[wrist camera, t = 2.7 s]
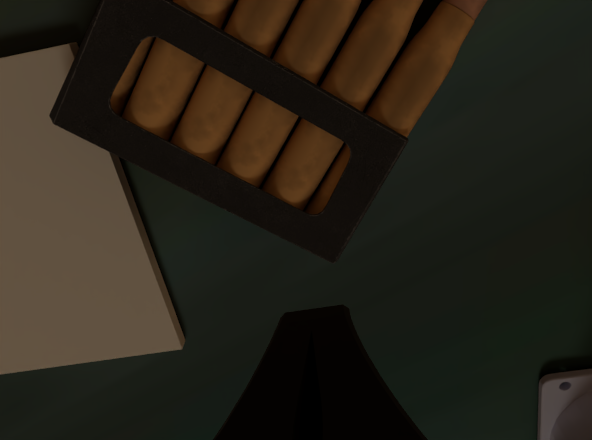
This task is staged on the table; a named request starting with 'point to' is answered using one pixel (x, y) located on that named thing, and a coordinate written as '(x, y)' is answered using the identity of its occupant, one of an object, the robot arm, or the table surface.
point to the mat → (69, 236)
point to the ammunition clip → (262, 101)
